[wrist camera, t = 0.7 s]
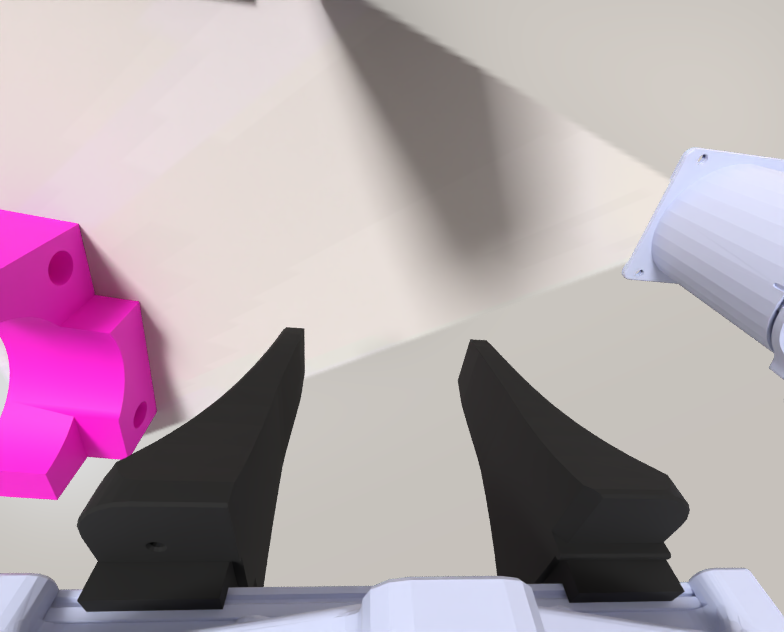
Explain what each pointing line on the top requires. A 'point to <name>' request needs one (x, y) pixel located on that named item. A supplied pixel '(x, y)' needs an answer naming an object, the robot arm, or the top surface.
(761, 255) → the robot arm
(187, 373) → the top surface
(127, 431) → the toy block
